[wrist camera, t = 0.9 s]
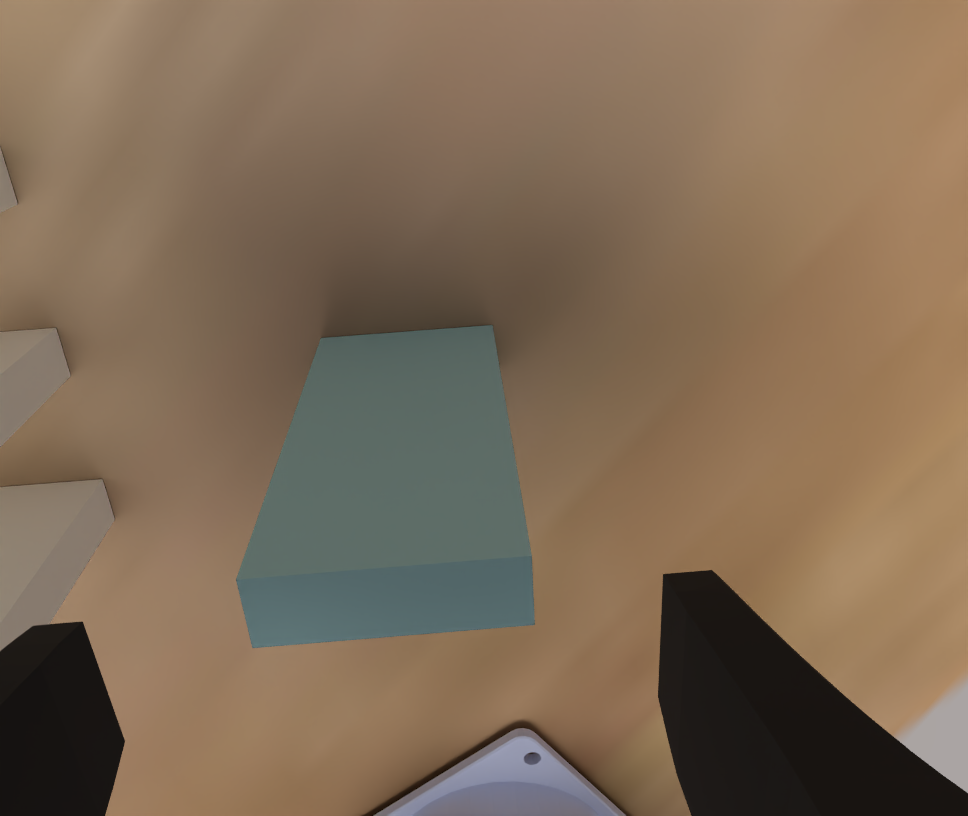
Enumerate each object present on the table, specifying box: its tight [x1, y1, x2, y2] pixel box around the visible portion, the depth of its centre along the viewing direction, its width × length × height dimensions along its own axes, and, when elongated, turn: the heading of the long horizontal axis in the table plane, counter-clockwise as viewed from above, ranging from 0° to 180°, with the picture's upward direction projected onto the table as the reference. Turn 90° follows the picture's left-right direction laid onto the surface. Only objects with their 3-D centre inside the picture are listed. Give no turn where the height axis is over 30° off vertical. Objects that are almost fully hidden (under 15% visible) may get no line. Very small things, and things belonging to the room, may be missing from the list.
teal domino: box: [236, 325, 535, 648], centre depth 15 cm, size 1×4×9 cm, turn 93°
